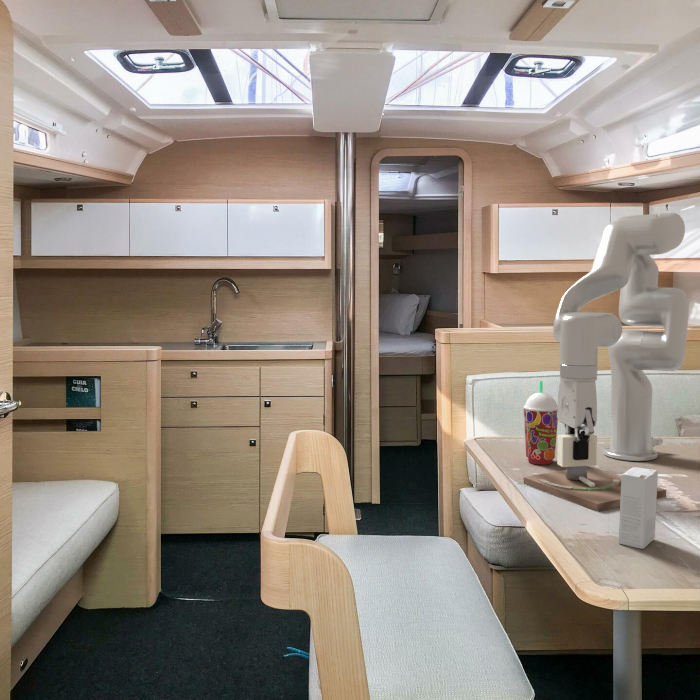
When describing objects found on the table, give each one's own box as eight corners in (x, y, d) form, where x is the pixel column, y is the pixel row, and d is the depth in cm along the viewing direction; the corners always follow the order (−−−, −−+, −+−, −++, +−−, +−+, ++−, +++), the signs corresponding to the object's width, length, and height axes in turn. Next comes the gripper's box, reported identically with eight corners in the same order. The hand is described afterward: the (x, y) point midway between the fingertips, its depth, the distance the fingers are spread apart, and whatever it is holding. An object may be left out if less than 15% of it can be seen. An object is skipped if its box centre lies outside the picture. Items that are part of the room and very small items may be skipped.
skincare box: (629, 534, 117) (631, 465, 116) (656, 539, 114) (658, 469, 113) (617, 544, 113) (618, 473, 112) (645, 550, 110) (647, 477, 109)
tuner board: (587, 472, 156) (588, 464, 156) (666, 496, 137) (666, 488, 137) (523, 483, 148) (523, 475, 148) (597, 511, 129) (597, 502, 129)
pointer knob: (555, 475, 148) (555, 434, 147) (588, 473, 148) (589, 432, 148) (574, 488, 138) (575, 444, 137) (610, 486, 139) (611, 442, 138)
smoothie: (539, 468, 160) (540, 384, 159) (515, 460, 168) (516, 380, 166) (565, 463, 164) (566, 381, 162) (541, 456, 172) (541, 378, 170)
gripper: (546, 368, 151) (545, 449, 153) (578, 378, 135) (576, 468, 137) (578, 367, 152) (577, 448, 154) (614, 377, 136) (612, 466, 138)
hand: (577, 456), depth 145 cm, fingers closed on pointer knob, 2 cm apart
